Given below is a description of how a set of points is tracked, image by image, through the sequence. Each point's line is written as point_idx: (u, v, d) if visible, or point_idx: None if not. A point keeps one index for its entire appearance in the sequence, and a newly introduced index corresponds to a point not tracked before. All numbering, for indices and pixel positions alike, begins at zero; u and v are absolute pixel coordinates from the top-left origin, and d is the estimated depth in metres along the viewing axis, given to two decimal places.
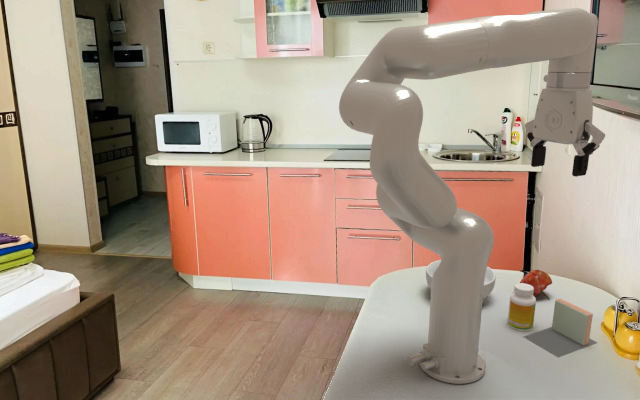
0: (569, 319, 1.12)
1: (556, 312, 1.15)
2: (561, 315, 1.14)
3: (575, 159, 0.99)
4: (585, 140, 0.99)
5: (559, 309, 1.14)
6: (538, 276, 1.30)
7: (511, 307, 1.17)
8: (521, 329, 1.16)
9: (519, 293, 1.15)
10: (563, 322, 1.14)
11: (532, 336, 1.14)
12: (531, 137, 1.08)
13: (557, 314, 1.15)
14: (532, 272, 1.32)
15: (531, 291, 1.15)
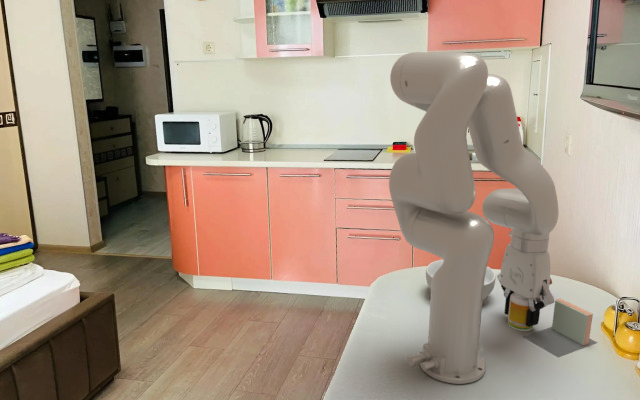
0: (569, 319, 1.12)
1: (556, 312, 1.15)
2: (561, 315, 1.14)
3: (528, 313, 1.14)
4: None
5: (559, 309, 1.14)
6: None
7: (511, 307, 1.17)
8: (521, 329, 1.16)
9: None
10: (563, 322, 1.14)
11: (532, 336, 1.14)
12: (504, 288, 1.21)
13: (557, 314, 1.15)
14: None
15: None
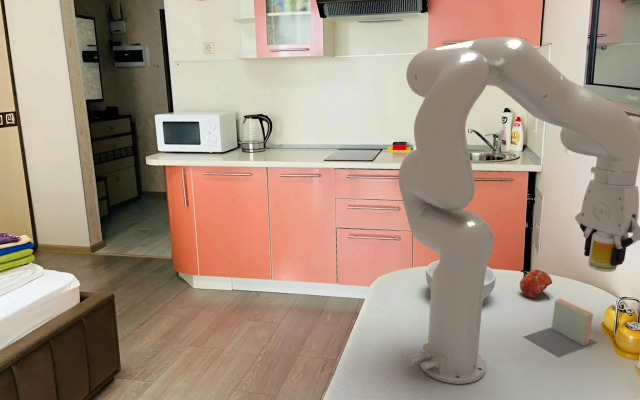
0: (569, 319, 1.12)
1: (556, 312, 1.15)
2: (561, 315, 1.14)
3: (613, 251, 1.09)
4: (631, 231, 1.07)
5: (559, 309, 1.14)
6: (538, 276, 1.30)
7: (594, 246, 1.11)
8: (605, 269, 1.11)
9: None
10: (563, 322, 1.14)
11: (532, 336, 1.14)
12: (584, 228, 1.15)
13: (557, 314, 1.15)
14: (532, 272, 1.32)
15: None
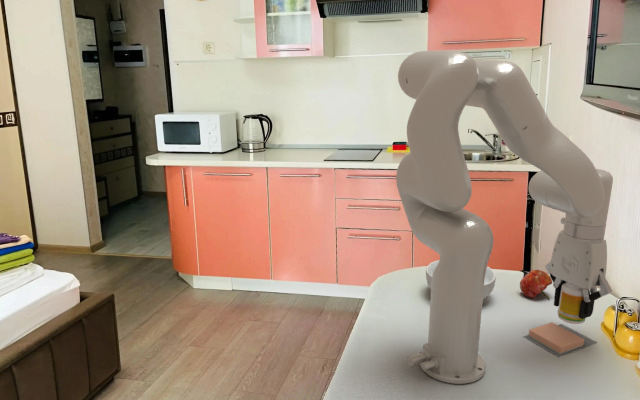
0: None
1: None
2: None
3: (581, 304, 1.08)
4: None
5: None
6: (538, 276, 1.30)
7: (563, 298, 1.11)
8: (573, 321, 1.10)
9: None
10: None
11: None
12: (554, 278, 1.14)
13: None
14: (532, 272, 1.32)
15: None
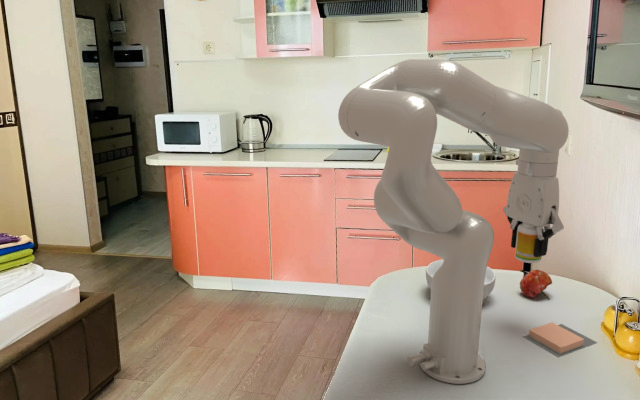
0: None
1: None
2: None
3: (536, 242, 1.10)
4: None
5: None
6: (538, 276, 1.30)
7: (519, 238, 1.13)
8: (529, 260, 1.12)
9: None
10: None
11: None
12: (511, 220, 1.16)
13: None
14: (532, 272, 1.32)
15: None
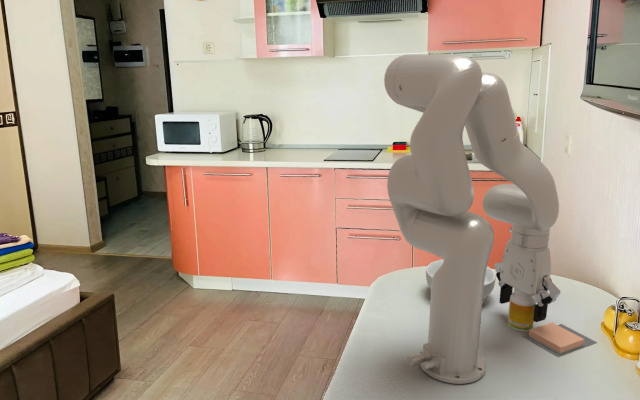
0: None
1: None
2: None
3: (535, 308, 1.12)
4: (544, 291, 1.13)
5: None
6: None
7: (511, 307, 1.17)
8: (521, 329, 1.16)
9: (519, 294, 1.15)
10: None
11: None
12: (499, 277, 1.22)
13: None
14: None
15: None
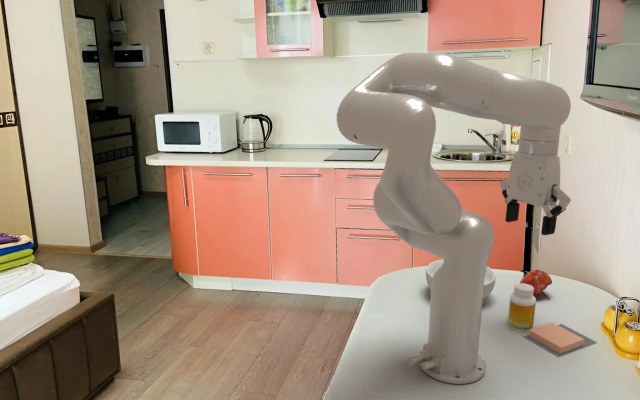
0: None
1: None
2: None
3: (544, 220, 1.07)
4: (553, 202, 1.07)
5: None
6: (538, 276, 1.30)
7: (511, 307, 1.17)
8: (521, 329, 1.16)
9: (519, 294, 1.15)
10: None
11: None
12: (505, 194, 1.16)
13: None
14: (532, 272, 1.32)
15: (531, 291, 1.15)
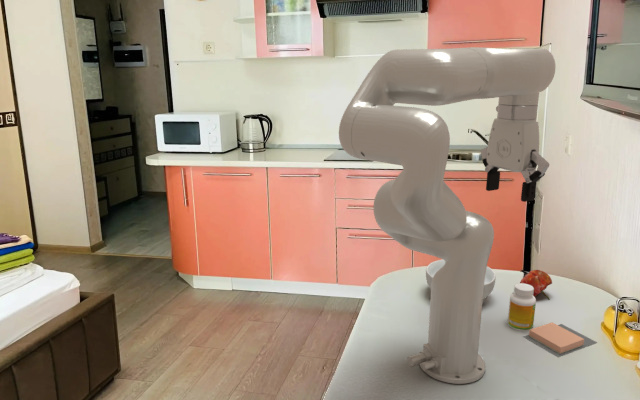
0: None
1: None
2: None
3: (523, 186, 1.06)
4: (533, 168, 1.06)
5: None
6: (538, 276, 1.30)
7: (511, 307, 1.17)
8: (521, 329, 1.16)
9: (519, 294, 1.15)
10: None
11: None
12: (486, 163, 1.15)
13: None
14: (532, 272, 1.32)
15: (531, 291, 1.15)
